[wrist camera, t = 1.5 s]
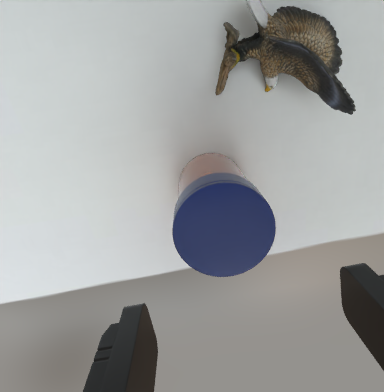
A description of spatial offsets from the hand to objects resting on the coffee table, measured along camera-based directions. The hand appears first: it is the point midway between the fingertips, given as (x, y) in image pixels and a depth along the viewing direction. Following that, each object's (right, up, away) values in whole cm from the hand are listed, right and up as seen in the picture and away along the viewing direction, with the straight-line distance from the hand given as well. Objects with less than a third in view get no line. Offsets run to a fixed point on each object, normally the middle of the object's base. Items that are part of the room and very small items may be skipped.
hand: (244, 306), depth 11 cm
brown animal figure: (+5, +14, +12) cm, 19 cm away
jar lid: (0, +2, +6) cm, 7 cm away
